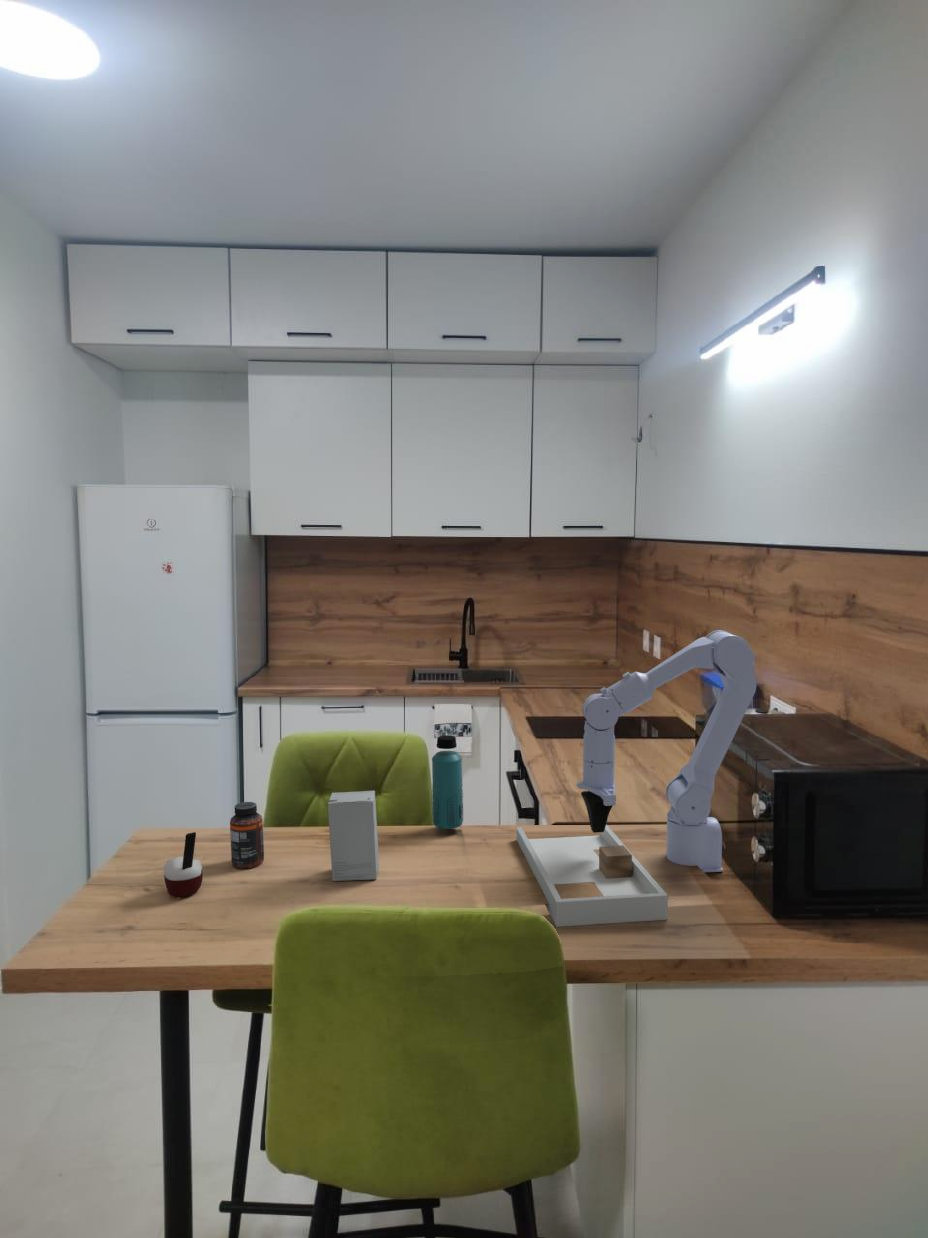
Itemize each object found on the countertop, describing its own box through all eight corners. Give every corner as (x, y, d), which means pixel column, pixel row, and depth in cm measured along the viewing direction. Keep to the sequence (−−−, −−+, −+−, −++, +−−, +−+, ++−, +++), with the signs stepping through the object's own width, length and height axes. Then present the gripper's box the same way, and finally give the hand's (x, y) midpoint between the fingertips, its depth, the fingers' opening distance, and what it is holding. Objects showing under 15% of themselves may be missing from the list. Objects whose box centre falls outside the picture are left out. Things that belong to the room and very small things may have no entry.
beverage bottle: (463, 836, 162) (462, 740, 161) (430, 836, 163) (430, 740, 161) (463, 825, 169) (463, 732, 167) (432, 825, 169) (431, 732, 167)
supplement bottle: (258, 855, 153) (256, 797, 152) (268, 865, 148) (267, 806, 147) (227, 861, 150) (225, 803, 149) (237, 872, 145) (235, 812, 144)
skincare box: (379, 868, 147) (377, 789, 145) (376, 881, 141) (375, 800, 139) (333, 868, 146) (331, 790, 145) (329, 882, 140) (327, 801, 139)
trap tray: (605, 842, 159) (605, 823, 158) (667, 919, 126) (667, 895, 126) (516, 847, 156) (516, 827, 156) (556, 926, 124) (556, 902, 123)
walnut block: (623, 867, 143) (623, 845, 143) (631, 877, 138) (631, 855, 138) (599, 868, 142) (599, 846, 142) (606, 878, 138) (606, 856, 138)
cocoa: (167, 888, 140) (162, 821, 139) (205, 882, 141) (200, 816, 141) (162, 909, 130) (157, 837, 130) (202, 903, 132) (197, 832, 131)
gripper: (567, 750, 153) (566, 818, 154) (588, 771, 139) (587, 846, 140) (603, 749, 154) (602, 817, 155) (627, 770, 140) (626, 845, 141)
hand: (597, 831), depth 148 cm, fingers closed
